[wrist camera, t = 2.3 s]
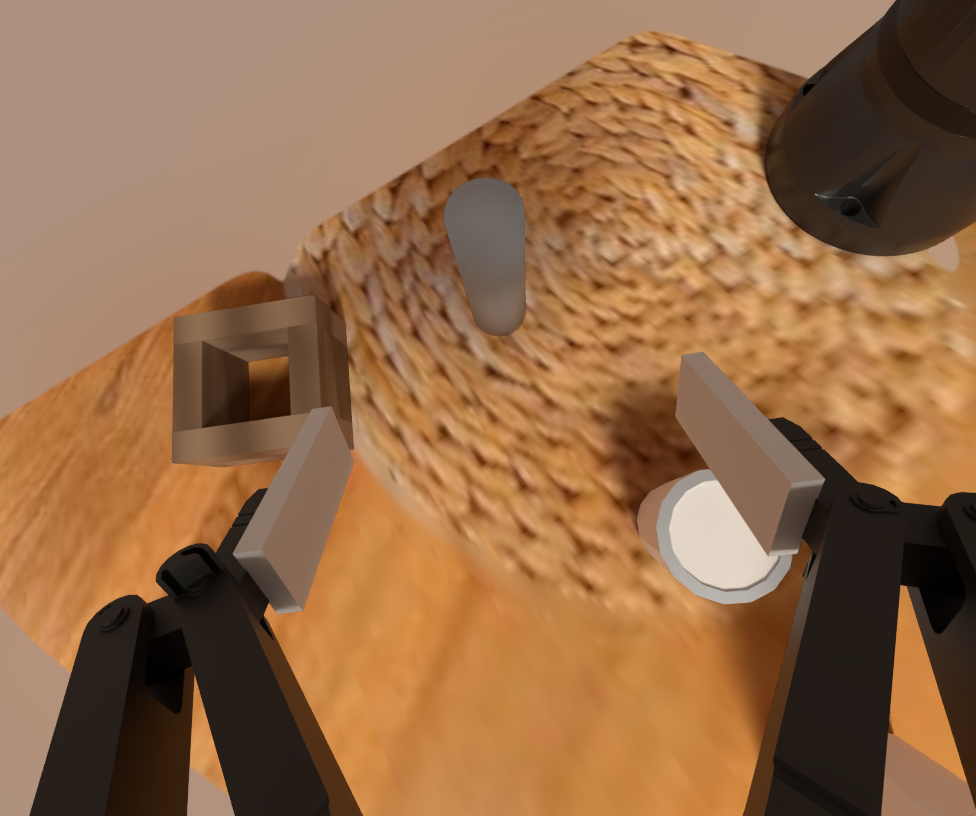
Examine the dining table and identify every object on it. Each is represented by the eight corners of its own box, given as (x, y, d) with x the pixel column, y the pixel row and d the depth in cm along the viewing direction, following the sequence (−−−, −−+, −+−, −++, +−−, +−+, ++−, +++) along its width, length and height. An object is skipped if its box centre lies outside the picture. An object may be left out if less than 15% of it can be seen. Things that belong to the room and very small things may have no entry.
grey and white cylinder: (612, 489, 30) (637, 488, 23) (709, 460, 30) (762, 451, 23) (648, 591, 29) (685, 622, 22) (750, 561, 29) (820, 583, 22)
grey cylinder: (521, 282, 34) (518, 171, 22) (529, 331, 33) (529, 243, 21) (470, 290, 34) (439, 185, 22) (476, 339, 33) (448, 257, 21)
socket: (345, 322, 34) (315, 294, 29) (353, 449, 32) (322, 442, 28) (223, 341, 35) (174, 317, 30) (224, 467, 33) (171, 463, 28)
